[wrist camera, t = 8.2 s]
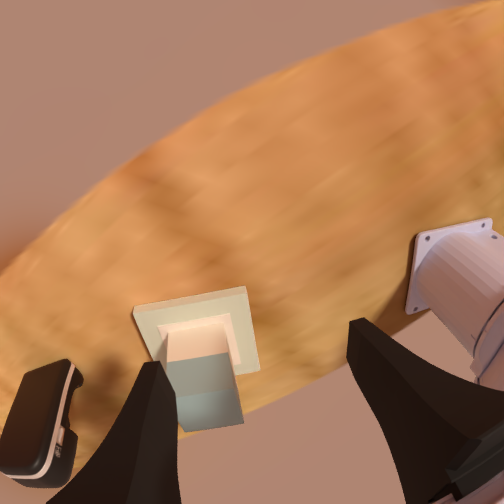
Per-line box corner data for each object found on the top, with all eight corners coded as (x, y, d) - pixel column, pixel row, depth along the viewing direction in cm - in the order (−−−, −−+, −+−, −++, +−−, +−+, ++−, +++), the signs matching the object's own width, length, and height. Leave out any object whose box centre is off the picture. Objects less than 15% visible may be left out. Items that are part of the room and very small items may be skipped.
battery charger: (48, 396, 25) (24, 492, 15) (22, 371, 23) (-11, 470, 13) (96, 382, 25) (77, 495, 15) (69, 354, 23) (37, 471, 13)
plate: (245, 285, 22) (247, 293, 21) (258, 362, 26) (260, 371, 25) (134, 305, 22) (132, 314, 21) (166, 378, 25) (166, 387, 25)
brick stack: (223, 322, 22) (233, 388, 17) (232, 360, 24) (244, 423, 19) (168, 332, 22) (165, 398, 17) (183, 369, 24) (184, 432, 19)
